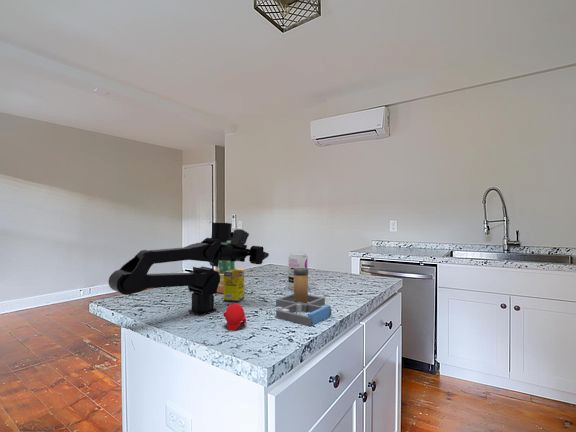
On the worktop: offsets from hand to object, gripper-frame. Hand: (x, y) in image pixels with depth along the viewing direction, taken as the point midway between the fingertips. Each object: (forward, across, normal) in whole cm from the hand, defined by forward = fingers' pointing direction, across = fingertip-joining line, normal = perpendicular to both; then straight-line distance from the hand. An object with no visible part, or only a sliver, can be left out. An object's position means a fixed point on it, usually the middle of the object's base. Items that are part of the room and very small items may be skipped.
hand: (260, 253), depth 121 cm
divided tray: (0, -23, +17) cm, 28 cm away
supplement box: (-8, +4, +18) cm, 20 cm away
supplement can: (+23, -1, +14) cm, 27 cm away
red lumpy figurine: (-25, -18, +20) cm, 36 cm away
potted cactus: (0, +18, +17) cm, 25 cm away
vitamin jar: (+4, -18, +16) cm, 25 cm away
